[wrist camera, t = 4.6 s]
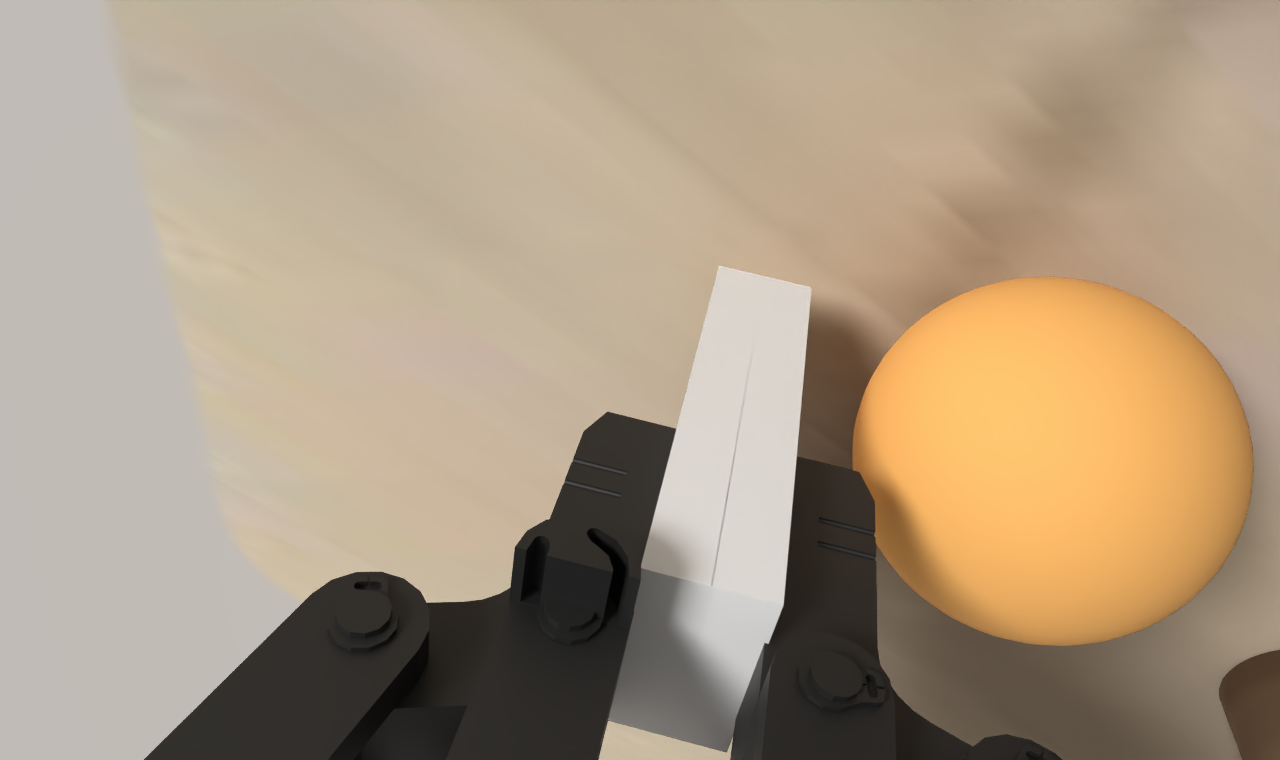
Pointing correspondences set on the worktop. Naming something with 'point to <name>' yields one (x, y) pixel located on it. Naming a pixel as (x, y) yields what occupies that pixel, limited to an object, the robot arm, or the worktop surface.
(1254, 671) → the post
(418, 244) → the worktop surface
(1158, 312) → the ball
